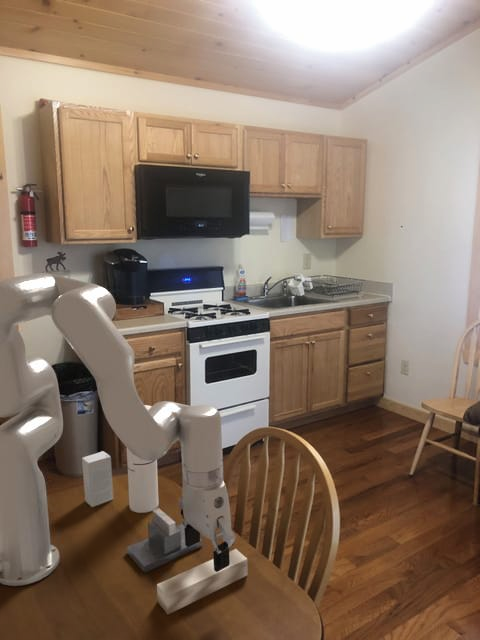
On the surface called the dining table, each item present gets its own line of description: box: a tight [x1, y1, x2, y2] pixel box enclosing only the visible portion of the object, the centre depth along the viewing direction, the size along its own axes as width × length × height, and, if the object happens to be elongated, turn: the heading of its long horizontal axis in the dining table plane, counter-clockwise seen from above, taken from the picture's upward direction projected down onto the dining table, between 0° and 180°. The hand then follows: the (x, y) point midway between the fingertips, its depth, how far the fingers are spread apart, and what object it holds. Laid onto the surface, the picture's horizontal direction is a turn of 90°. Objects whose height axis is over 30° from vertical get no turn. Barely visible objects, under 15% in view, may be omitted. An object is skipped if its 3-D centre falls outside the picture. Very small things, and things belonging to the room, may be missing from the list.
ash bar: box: [156, 548, 249, 615], centre depth 101 cm, size 18×4×4 cm, turn 126°
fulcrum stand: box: [126, 507, 203, 574], centre depth 112 cm, size 14×8×8 cm, turn 128°
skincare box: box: [81, 450, 114, 508], centre depth 131 cm, size 6×4×12 cm
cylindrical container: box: [126, 404, 159, 514], centre depth 128 cm, size 7×7×25 cm
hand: (206, 555), depth 100 cm, fingers open, 9 cm apart
